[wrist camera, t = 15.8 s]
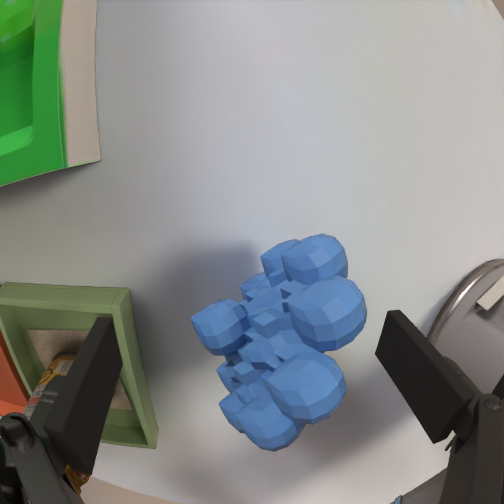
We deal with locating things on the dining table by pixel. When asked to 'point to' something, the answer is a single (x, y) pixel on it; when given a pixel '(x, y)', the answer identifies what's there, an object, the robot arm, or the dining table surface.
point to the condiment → (64, 374)
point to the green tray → (82, 318)
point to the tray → (47, 87)
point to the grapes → (285, 340)
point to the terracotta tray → (10, 383)
